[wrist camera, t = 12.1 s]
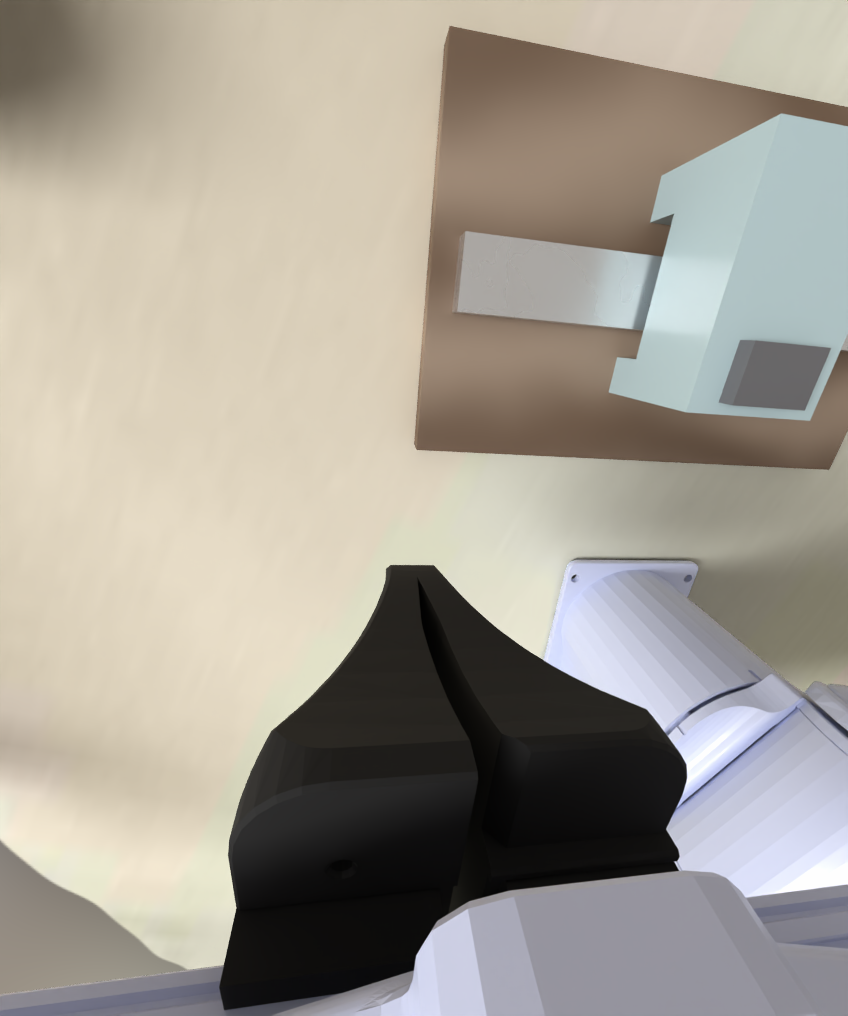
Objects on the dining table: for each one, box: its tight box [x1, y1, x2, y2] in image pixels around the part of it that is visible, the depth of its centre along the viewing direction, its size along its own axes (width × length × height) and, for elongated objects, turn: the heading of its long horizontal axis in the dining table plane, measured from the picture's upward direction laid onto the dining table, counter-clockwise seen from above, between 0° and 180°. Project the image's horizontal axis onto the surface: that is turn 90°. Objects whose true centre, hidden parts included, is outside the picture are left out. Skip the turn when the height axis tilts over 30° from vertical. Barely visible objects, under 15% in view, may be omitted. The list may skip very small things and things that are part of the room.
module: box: [609, 113, 848, 421], centre depth 15 cm, size 8×5×6 cm, turn 175°
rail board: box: [414, 26, 848, 470], centre depth 18 cm, size 14×22×2 cm, turn 85°
